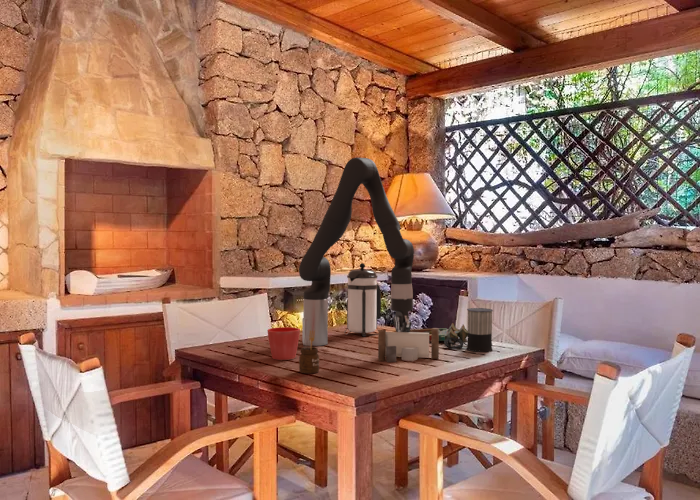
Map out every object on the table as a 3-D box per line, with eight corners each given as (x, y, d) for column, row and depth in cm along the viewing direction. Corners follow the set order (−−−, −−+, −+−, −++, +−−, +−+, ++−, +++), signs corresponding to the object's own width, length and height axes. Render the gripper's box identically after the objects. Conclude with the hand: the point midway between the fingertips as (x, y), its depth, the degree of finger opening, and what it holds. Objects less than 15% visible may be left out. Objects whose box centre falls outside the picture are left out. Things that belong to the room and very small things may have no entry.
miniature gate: (399, 324, 261) (470, 322, 255) (400, 337, 261) (471, 335, 255) (390, 334, 234) (469, 331, 228) (391, 348, 234) (470, 345, 228)
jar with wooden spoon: (296, 373, 179) (296, 333, 179) (303, 369, 186) (303, 330, 185) (315, 374, 178) (315, 333, 178) (321, 370, 184) (321, 330, 184)
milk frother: (497, 351, 217) (497, 310, 216) (457, 353, 212) (458, 311, 212) (477, 345, 230) (478, 306, 230) (439, 347, 226) (440, 307, 225)
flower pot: (263, 356, 206) (263, 327, 206) (294, 354, 210) (294, 326, 210) (272, 362, 196) (272, 332, 196) (304, 359, 200) (304, 330, 200)
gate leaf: (429, 356, 205) (429, 332, 204) (428, 357, 203) (429, 333, 203) (384, 355, 207) (384, 331, 207) (384, 356, 205) (384, 332, 205)
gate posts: (380, 362, 196) (380, 331, 196) (377, 359, 200) (377, 329, 200) (441, 359, 201) (441, 329, 201) (437, 357, 205) (437, 327, 205)
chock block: (412, 361, 199) (413, 349, 199) (401, 360, 201) (401, 348, 200) (417, 359, 202) (417, 347, 202) (406, 358, 204) (406, 346, 204)
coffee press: (383, 337, 248) (383, 263, 248) (344, 337, 248) (344, 263, 247) (380, 330, 265) (380, 262, 265) (344, 330, 265) (344, 262, 265)
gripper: (385, 295, 215) (386, 344, 215) (397, 298, 202) (398, 350, 203) (405, 294, 217) (406, 343, 217) (418, 298, 204) (419, 349, 204)
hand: (402, 346), depth 210 cm, fingers closed
